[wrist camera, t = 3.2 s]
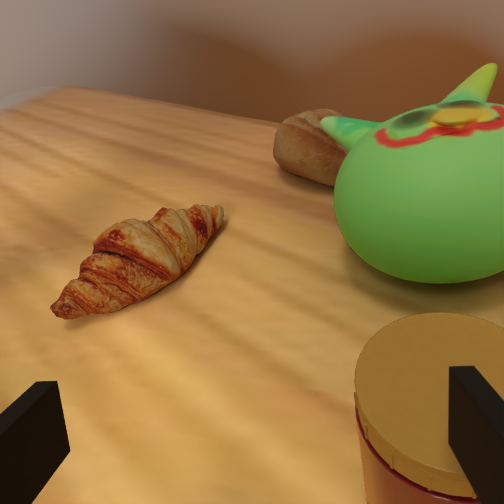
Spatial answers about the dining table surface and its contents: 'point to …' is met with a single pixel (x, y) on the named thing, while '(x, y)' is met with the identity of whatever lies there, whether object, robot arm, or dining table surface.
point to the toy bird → (426, 187)
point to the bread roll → (309, 147)
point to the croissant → (137, 260)
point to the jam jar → (396, 481)
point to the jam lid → (423, 391)
